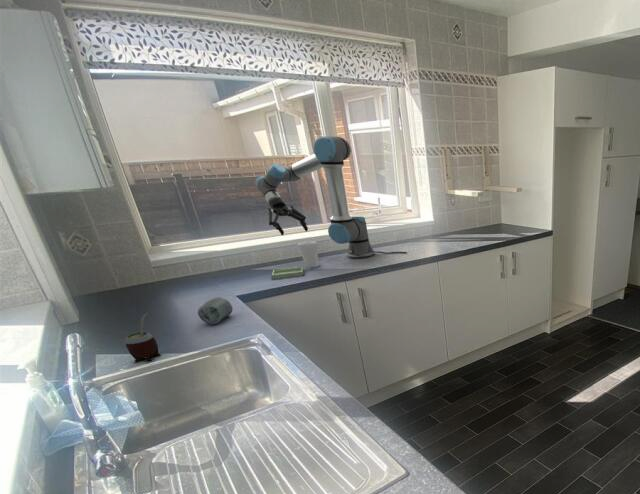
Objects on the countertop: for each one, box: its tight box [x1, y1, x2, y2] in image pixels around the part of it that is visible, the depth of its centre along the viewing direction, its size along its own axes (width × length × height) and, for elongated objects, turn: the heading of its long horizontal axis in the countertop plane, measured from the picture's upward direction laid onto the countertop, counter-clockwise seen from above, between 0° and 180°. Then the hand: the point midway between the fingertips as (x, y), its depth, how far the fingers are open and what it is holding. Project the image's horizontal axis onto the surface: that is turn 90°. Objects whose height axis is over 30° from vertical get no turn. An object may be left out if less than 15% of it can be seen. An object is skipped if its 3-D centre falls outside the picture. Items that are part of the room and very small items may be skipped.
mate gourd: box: [124, 311, 161, 363], centre depth 129 cm, size 8×8×15 cm
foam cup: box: [297, 240, 319, 269], centre depth 232 cm, size 10×9×13 cm
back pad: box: [271, 266, 304, 280], centre depth 220 cm, size 14×12×2 cm
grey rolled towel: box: [197, 296, 234, 326], centre depth 160 cm, size 14×10×10 cm
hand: (295, 231), depth 234 cm, fingers open, 13 cm apart
